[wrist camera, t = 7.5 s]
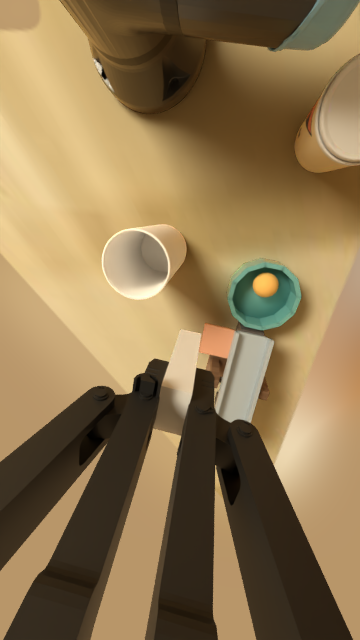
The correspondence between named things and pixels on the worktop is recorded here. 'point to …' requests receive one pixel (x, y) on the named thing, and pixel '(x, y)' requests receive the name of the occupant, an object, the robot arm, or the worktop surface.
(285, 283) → the dish
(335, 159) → the coffee cup
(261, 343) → the lever
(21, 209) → the worktop surface
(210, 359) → the stand
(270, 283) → the ball
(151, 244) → the cup
